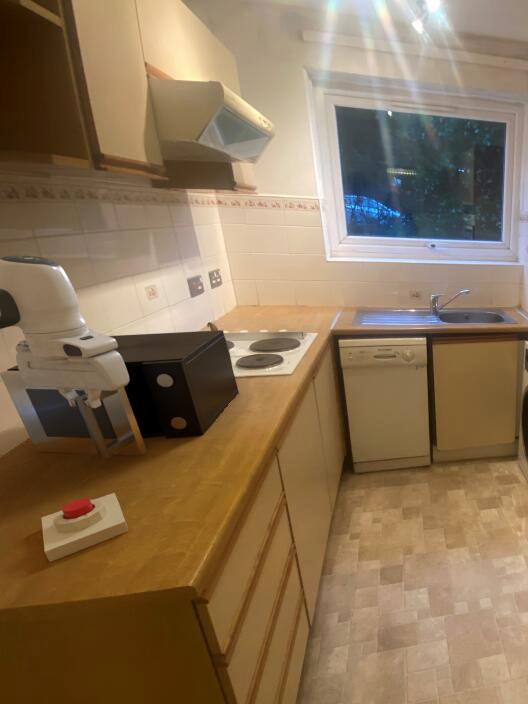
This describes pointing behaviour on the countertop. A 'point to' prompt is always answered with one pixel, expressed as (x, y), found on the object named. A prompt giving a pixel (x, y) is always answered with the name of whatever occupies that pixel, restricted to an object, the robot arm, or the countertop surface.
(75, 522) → the button block
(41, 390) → the microwave door
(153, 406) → the microwave
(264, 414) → the countertop surface
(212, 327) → the vegetable
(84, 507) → the button
